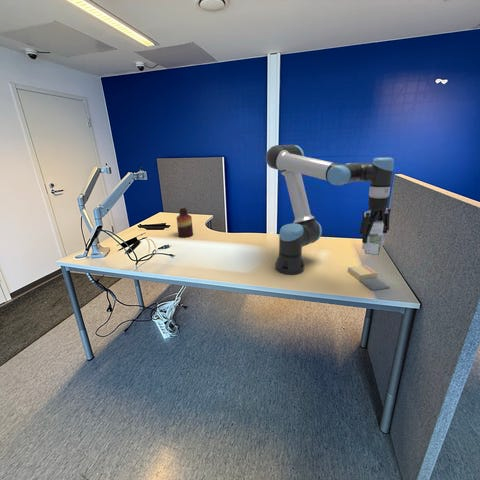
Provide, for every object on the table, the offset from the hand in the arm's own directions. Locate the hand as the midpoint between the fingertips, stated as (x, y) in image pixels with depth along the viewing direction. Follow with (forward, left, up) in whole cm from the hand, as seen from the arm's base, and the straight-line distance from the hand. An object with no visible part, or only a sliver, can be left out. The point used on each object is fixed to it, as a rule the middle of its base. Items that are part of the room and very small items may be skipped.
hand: (372, 247), depth 113 cm
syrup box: (0, 0, -2) cm, 2 cm away
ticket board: (+4, +8, -18) cm, 20 cm away
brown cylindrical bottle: (-81, +95, -18) cm, 127 cm away
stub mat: (+3, -2, -18) cm, 19 cm away
